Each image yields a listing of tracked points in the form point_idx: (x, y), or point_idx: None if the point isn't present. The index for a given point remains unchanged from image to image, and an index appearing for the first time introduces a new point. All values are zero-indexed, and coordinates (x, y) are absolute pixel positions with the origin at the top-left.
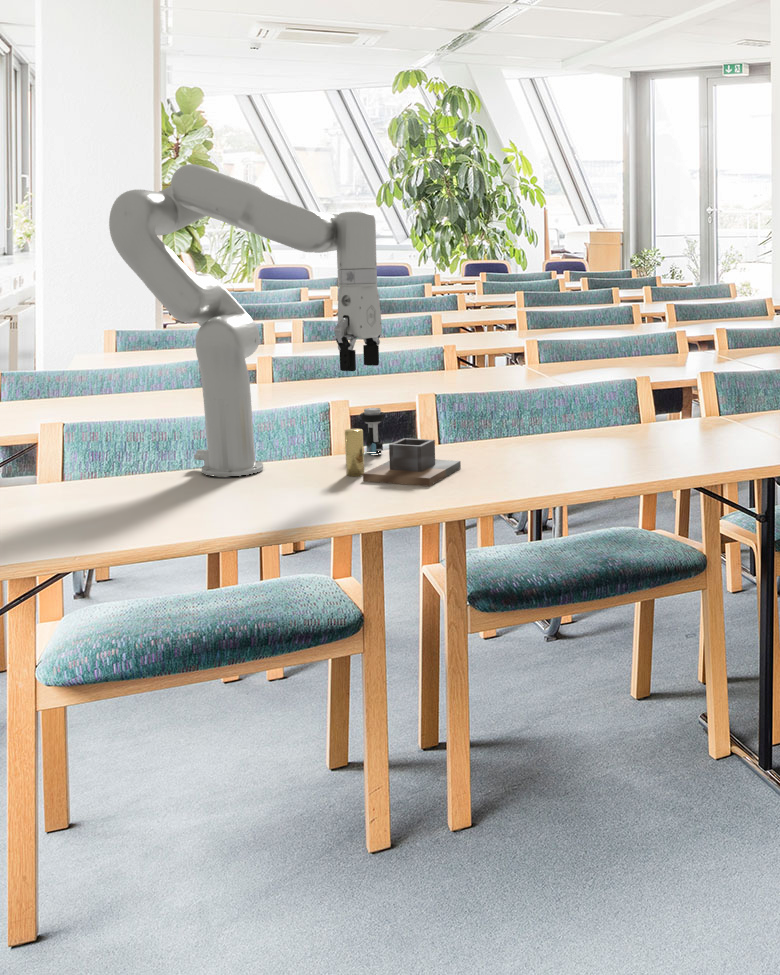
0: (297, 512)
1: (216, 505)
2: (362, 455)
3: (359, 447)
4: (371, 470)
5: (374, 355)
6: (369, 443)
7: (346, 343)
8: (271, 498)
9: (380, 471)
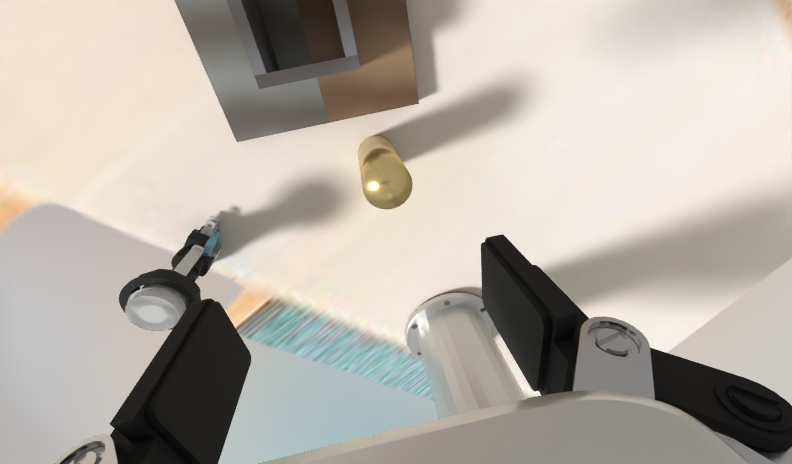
0: (659, 53)
1: (627, 204)
2: (378, 145)
3: (389, 151)
4: (386, 104)
5: (199, 356)
6: (211, 258)
7: (689, 375)
8: (578, 164)
9: (384, 77)
